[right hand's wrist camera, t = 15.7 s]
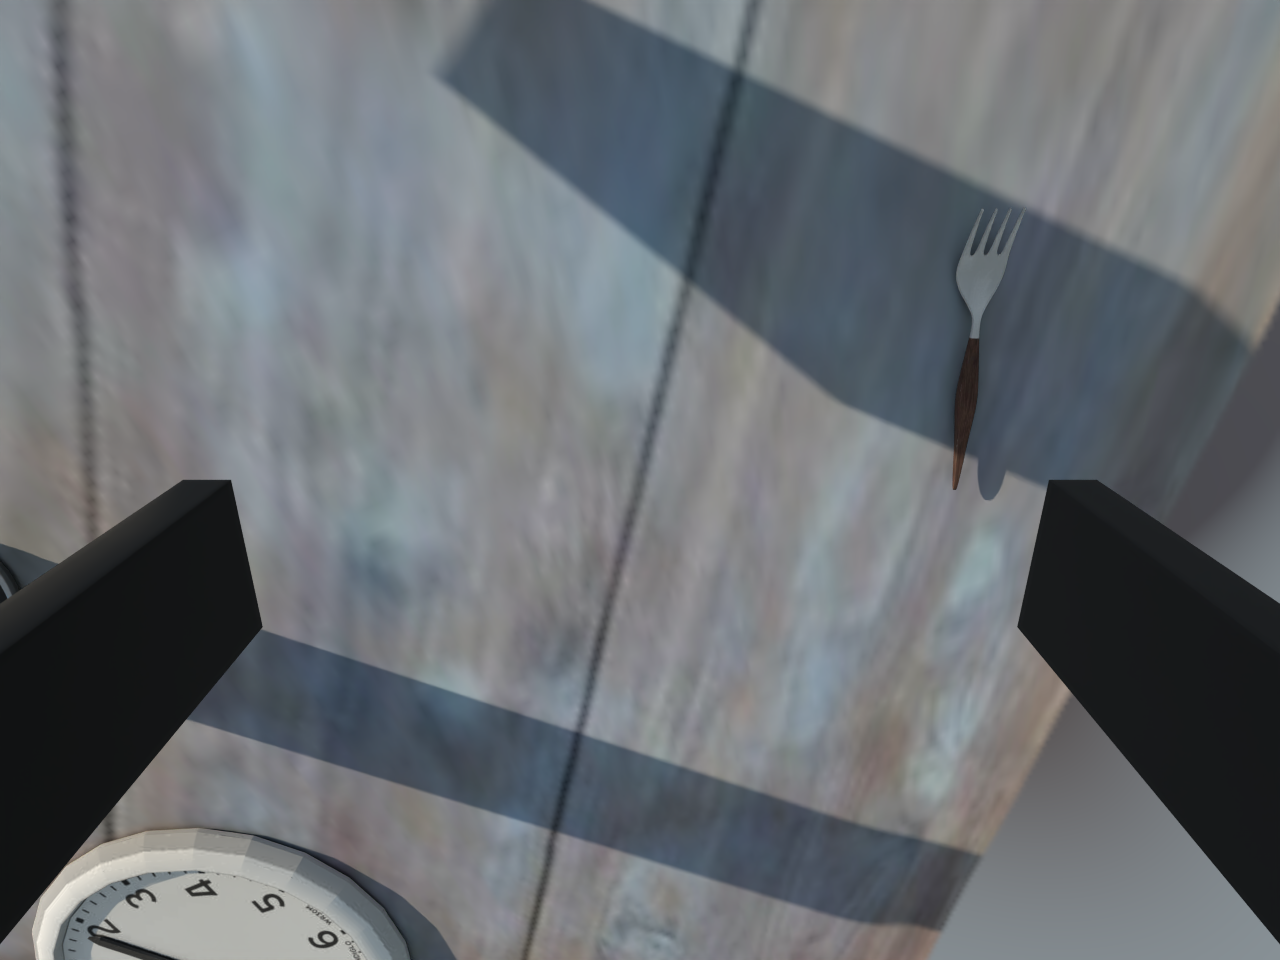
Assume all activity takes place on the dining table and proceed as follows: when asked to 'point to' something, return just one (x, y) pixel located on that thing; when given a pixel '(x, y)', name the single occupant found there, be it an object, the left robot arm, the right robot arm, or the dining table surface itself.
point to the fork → (976, 323)
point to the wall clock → (209, 904)
